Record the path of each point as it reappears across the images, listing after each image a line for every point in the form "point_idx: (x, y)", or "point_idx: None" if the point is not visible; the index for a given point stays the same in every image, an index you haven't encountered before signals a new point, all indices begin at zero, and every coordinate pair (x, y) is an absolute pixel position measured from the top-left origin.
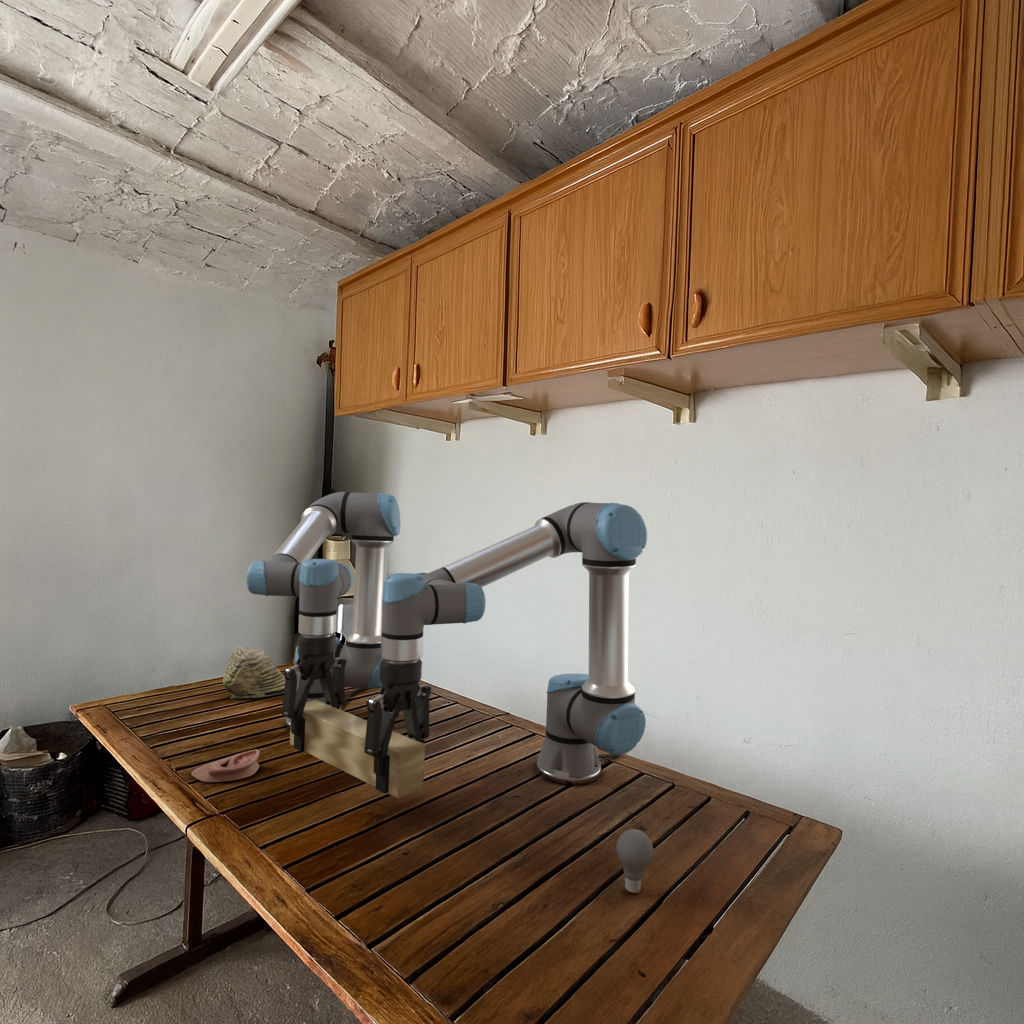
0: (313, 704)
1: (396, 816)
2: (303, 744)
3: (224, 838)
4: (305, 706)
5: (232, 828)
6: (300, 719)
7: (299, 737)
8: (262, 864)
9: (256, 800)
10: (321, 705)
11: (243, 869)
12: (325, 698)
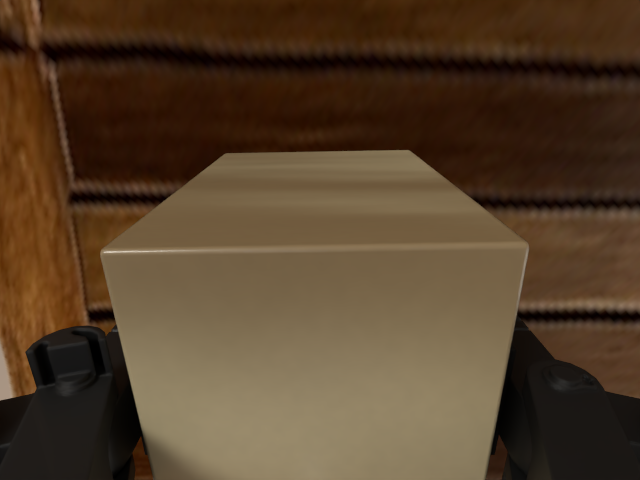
0: (373, 378)
1: None
2: None
3: (19, 213)
4: (255, 375)
5: (52, 177)
6: (142, 433)
7: None
8: None
9: (177, 50)
10: (418, 455)
11: (28, 362)
12: (540, 474)
